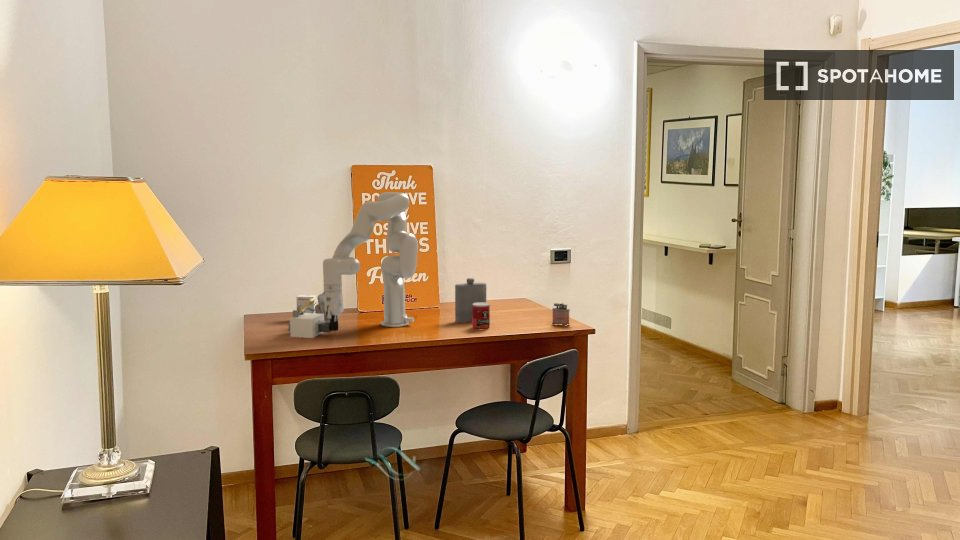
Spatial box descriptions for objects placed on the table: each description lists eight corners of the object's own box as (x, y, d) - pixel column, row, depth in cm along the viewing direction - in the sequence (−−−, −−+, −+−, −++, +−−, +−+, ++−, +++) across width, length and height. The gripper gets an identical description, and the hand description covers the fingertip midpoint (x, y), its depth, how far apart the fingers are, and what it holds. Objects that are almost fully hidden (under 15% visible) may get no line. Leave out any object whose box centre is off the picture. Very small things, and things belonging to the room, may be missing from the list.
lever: (315, 300, 319) (313, 297, 320) (311, 301, 315) (309, 299, 315) (300, 314, 322) (298, 311, 322) (296, 316, 318) (293, 313, 318)
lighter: (570, 325, 339) (570, 303, 337) (568, 326, 336) (568, 304, 334) (553, 323, 342) (553, 302, 341) (551, 324, 339) (551, 303, 338)
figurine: (338, 322, 344) (337, 290, 342) (339, 328, 333) (338, 294, 331) (315, 323, 342) (314, 291, 340) (315, 329, 331) (314, 295, 329)
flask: (483, 318, 353) (483, 277, 350) (487, 321, 347) (487, 278, 345) (453, 320, 348) (453, 278, 345) (457, 323, 342) (456, 280, 340)
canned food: (477, 330, 327) (477, 306, 326) (469, 327, 334) (469, 303, 333) (492, 328, 331) (492, 304, 329) (484, 325, 338) (484, 301, 336)
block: (324, 331, 325) (323, 307, 323) (312, 338, 313) (311, 312, 312) (303, 330, 327) (302, 306, 325) (290, 336, 315) (289, 311, 314)
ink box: (296, 321, 347) (295, 296, 345) (300, 319, 352) (299, 294, 350) (314, 321, 346) (313, 296, 344) (317, 319, 351) (317, 295, 349)
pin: (333, 331, 321) (333, 320, 320) (327, 334, 315) (327, 323, 314) (293, 329, 324) (293, 318, 324) (287, 332, 319) (286, 321, 318)
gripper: (334, 291, 307) (335, 334, 309) (347, 285, 321) (349, 327, 324) (317, 290, 308) (318, 334, 311) (331, 284, 323) (332, 326, 325)
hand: (334, 330), depth 317 cm, fingers closed
